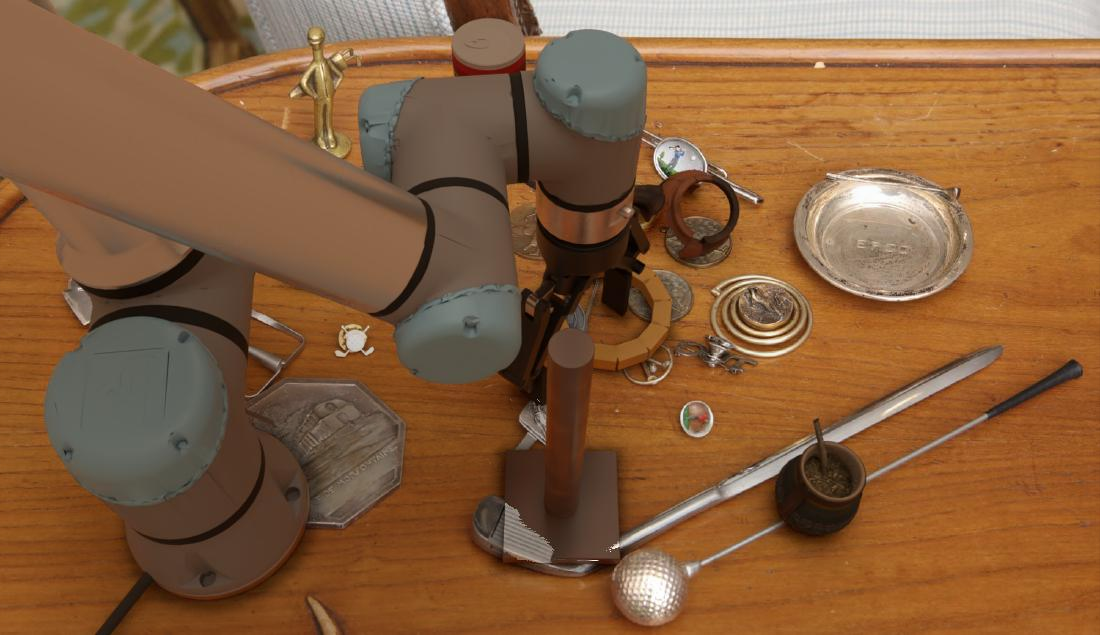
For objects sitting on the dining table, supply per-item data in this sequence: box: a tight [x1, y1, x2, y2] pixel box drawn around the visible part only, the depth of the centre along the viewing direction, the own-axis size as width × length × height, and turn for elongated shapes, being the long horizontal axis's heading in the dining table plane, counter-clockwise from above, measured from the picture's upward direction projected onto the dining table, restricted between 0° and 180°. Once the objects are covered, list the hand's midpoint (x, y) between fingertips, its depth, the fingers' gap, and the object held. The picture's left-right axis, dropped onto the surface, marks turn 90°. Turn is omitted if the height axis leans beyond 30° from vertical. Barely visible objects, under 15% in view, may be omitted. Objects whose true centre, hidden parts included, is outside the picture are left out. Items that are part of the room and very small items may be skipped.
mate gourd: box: [774, 417, 868, 538], centre depth 78 cm, size 7×8×10 cm
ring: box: [554, 266, 673, 372], centre depth 92 cm, size 13×13×2 cm
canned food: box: [450, 17, 527, 77], centre depth 103 cm, size 8×8×11 cm
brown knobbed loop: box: [632, 169, 741, 260], centre depth 97 cm, size 12×10×8 cm
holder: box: [502, 327, 621, 565], centre depth 70 cm, size 10×10×28 cm
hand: (574, 350), depth 90 cm, fingers open, 12 cm apart
